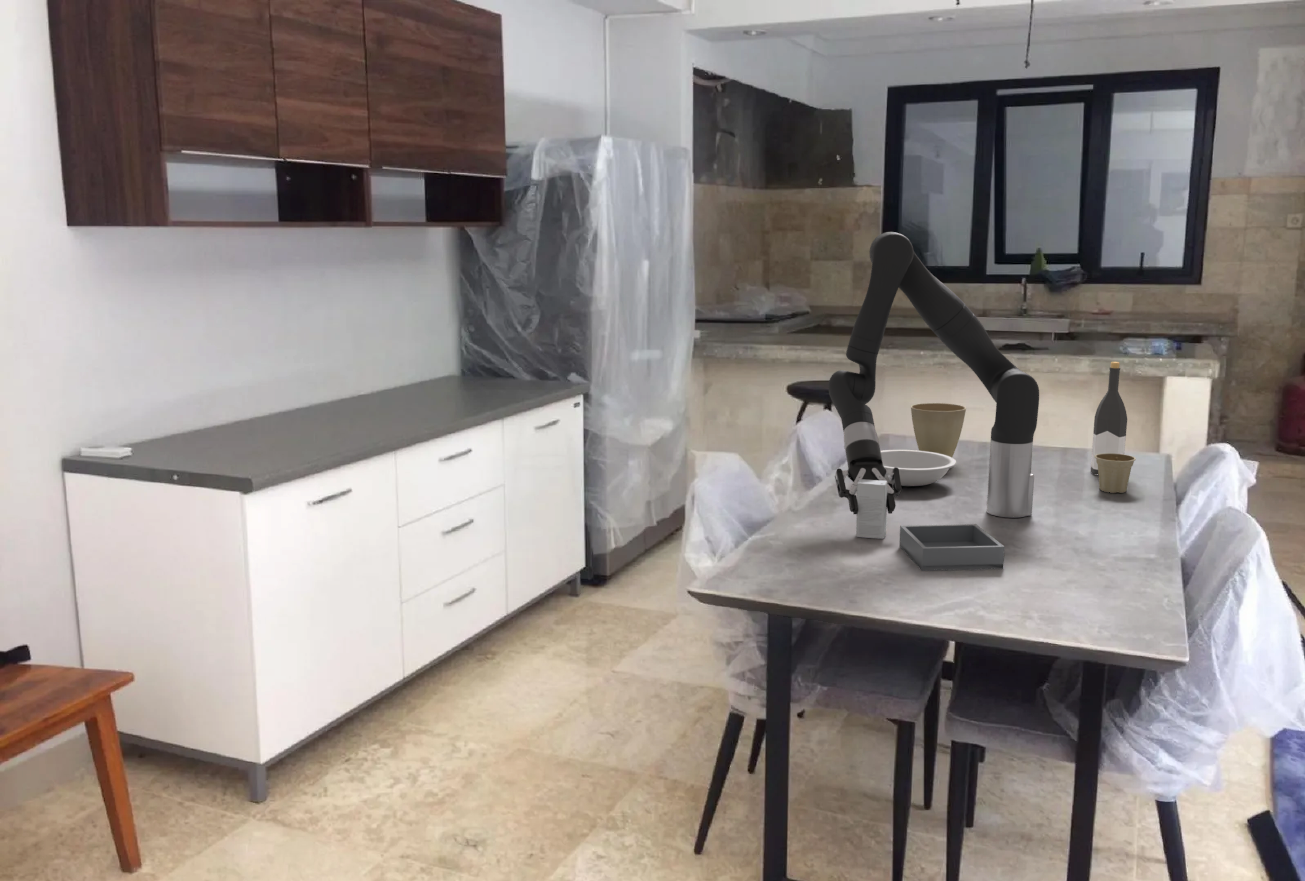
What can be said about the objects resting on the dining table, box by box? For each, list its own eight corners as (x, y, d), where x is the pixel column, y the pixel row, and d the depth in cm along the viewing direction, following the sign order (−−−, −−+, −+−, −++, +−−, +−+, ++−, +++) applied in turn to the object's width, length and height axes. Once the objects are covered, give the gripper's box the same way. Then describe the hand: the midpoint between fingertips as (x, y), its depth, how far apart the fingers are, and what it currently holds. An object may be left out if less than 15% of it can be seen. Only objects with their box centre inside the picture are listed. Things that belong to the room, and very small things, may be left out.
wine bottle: (1125, 472, 286) (1134, 361, 280) (1119, 478, 280) (1129, 364, 274) (1093, 469, 291) (1101, 359, 285) (1087, 474, 284) (1095, 362, 278)
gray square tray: (974, 544, 223) (976, 524, 222) (1003, 568, 207) (1004, 546, 206) (899, 546, 222) (900, 525, 221) (922, 570, 206) (923, 548, 206)
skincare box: (886, 534, 231) (888, 480, 228) (883, 539, 227) (885, 485, 224) (858, 531, 233) (859, 478, 230) (855, 537, 229) (856, 483, 226)
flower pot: (1092, 493, 265) (1094, 459, 263) (1092, 484, 273) (1094, 451, 271) (1133, 496, 261) (1136, 462, 259) (1132, 488, 270) (1135, 454, 268)
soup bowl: (941, 499, 260) (942, 473, 258) (847, 488, 271) (847, 463, 270) (965, 479, 280) (966, 454, 279) (876, 469, 292) (877, 446, 290)
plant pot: (961, 458, 305) (964, 403, 302) (964, 469, 291) (967, 412, 288) (908, 456, 309) (910, 401, 306) (908, 467, 294) (910, 410, 291)
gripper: (832, 438, 233) (843, 504, 224) (897, 437, 233) (910, 502, 224) (827, 457, 239) (837, 521, 230) (890, 455, 240) (903, 520, 231)
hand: (873, 512), depth 227 cm, fingers closed on skincare box, 7 cm apart
